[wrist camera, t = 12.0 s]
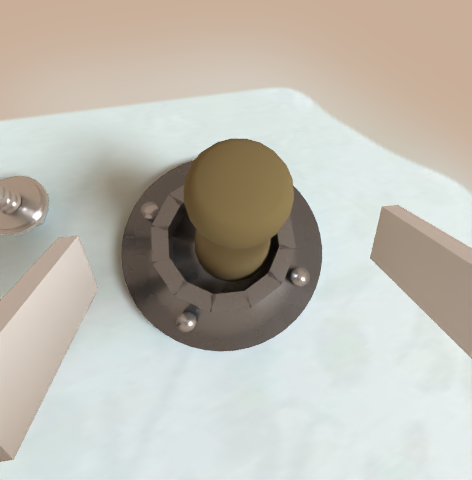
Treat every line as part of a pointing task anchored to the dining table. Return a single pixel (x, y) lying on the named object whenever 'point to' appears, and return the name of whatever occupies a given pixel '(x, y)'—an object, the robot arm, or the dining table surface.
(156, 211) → the flange
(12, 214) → the screw
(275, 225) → the cork
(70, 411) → the dining table surface
